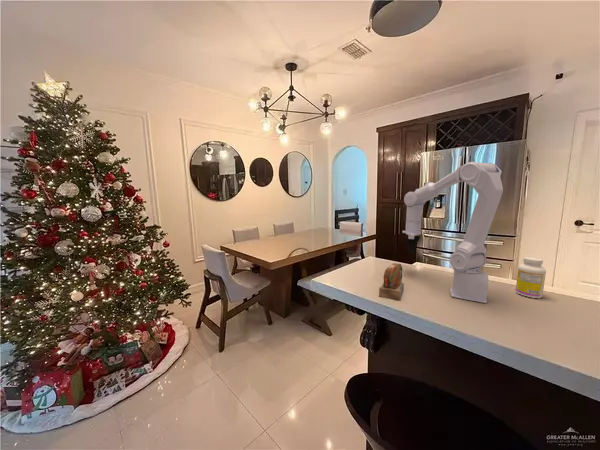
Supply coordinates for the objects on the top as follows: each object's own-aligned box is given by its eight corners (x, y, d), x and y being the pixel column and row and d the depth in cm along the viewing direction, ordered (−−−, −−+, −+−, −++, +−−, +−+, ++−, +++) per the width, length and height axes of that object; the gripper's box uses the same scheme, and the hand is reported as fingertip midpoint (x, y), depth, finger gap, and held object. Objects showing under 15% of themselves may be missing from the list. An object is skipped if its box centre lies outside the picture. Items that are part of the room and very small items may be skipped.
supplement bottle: (522, 289, 85) (527, 255, 83) (547, 297, 78) (552, 260, 77) (510, 292, 83) (515, 256, 81) (534, 300, 76) (539, 262, 75)
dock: (403, 289, 86) (404, 281, 85) (399, 300, 77) (400, 291, 76) (384, 285, 89) (385, 278, 89) (379, 296, 80) (379, 287, 80)
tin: (390, 295, 81) (391, 272, 79) (381, 293, 83) (382, 270, 81) (402, 282, 92) (403, 261, 91) (394, 280, 94) (395, 260, 93)
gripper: (405, 218, 106) (403, 248, 108) (401, 222, 94) (399, 255, 96) (422, 219, 103) (420, 250, 105) (420, 223, 90) (418, 258, 92)
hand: (411, 253), depth 100 cm, fingers closed
